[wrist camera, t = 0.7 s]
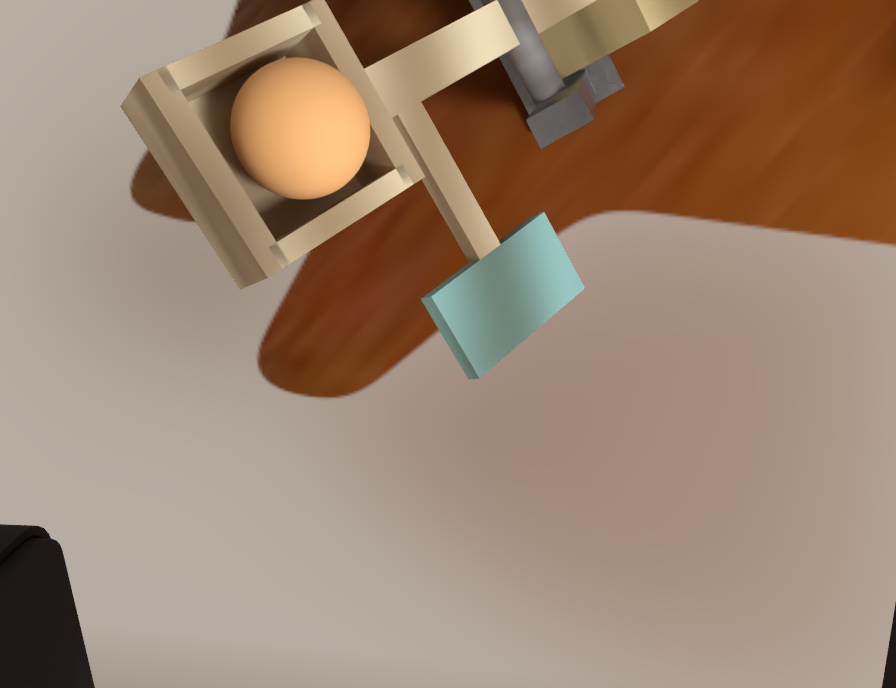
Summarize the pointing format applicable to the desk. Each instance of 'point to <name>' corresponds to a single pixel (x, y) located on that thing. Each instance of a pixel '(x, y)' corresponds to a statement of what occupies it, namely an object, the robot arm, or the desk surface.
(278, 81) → the ball
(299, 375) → the desk surface
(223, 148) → the lever
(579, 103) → the pivot stand
